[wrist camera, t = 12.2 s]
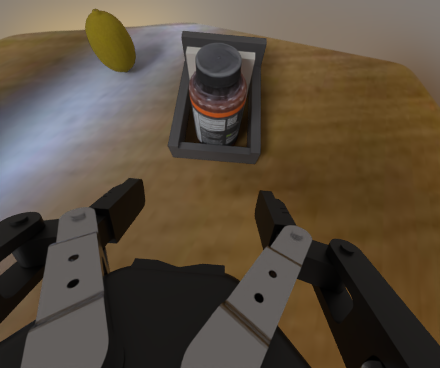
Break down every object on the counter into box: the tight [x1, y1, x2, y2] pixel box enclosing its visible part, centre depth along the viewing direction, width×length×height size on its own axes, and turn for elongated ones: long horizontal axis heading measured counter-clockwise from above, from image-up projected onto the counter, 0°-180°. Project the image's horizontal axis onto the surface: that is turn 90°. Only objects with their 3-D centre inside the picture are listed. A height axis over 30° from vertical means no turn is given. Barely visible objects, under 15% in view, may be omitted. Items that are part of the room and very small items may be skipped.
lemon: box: [85, 9, 136, 72], centre depth 25 cm, size 6×6×8 cm
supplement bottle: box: [189, 43, 247, 146], centre depth 20 cm, size 6×6×11 cm
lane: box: [168, 31, 266, 164], centre depth 23 cm, size 11×16×6 cm
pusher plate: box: [186, 47, 255, 120], centre depth 23 cm, size 7×11×9 cm, turn 175°
